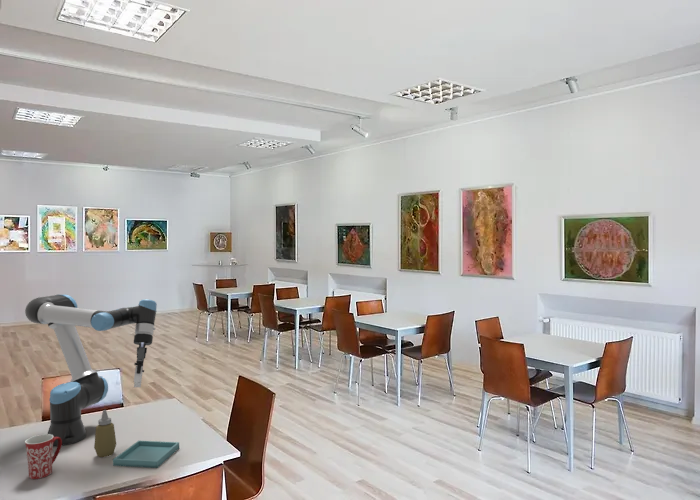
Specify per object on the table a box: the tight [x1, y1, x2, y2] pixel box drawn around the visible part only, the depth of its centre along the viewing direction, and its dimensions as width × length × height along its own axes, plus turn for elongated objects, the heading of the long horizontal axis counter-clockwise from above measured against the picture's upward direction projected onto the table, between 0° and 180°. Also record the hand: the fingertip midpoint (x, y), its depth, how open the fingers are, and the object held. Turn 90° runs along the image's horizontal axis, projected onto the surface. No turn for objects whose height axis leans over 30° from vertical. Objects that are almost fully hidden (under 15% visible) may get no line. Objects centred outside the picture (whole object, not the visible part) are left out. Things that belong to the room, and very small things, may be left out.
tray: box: [112, 440, 180, 469], centre depth 200 cm, size 18×18×2 cm
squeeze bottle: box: [93, 409, 117, 458], centre depth 202 cm, size 8×8×18 cm
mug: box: [24, 433, 63, 480], centre depth 187 cm, size 13×9×14 cm
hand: (137, 384), depth 210 cm, fingers open, 13 cm apart
